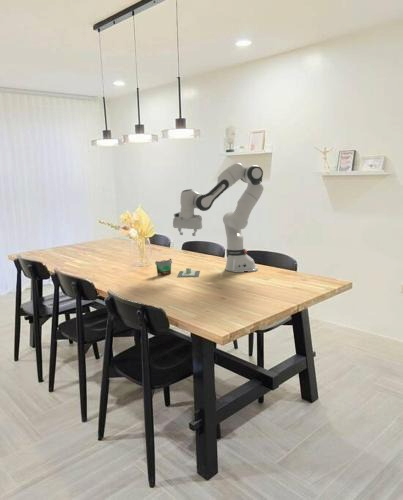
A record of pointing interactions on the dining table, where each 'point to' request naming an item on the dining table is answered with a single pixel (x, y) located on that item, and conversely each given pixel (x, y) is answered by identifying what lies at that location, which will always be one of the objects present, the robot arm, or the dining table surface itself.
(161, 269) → the food container
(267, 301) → the dining table surface
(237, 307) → the dining table surface
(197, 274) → the mat
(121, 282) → the dining table surface
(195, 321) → the dining table surface
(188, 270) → the lid
